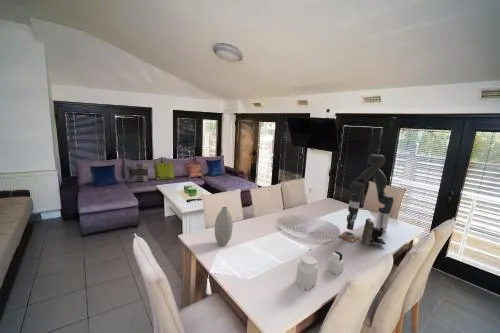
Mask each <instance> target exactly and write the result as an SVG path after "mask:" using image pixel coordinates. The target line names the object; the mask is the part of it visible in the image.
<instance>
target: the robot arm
mask: <svg viewBox="0 0 500 333" xmlns="http://www.w3.org/2000/svg"><path fill="white" fill-rule="evenodd" d="M368 162H369V165H370V167H369V168H366V169H365V170H363V171H362V172H361V174H360V175H359V176H358V177H357V178H355V179H354V180H352V182H351V183H350V184H349V189H350V190H352V191H354V192H353V193H351V194H350V198H349V203H348V208H347V211H348V212H349V213H348V215H346V223H348V225H347V224H346V227H347V226H349V227H350V226H351V221H352V220H353V218H355V221H356V220H357V216H358V214H359V213H358V212H359V208H360V200H361V196H362V194H363V192H364V190H365V185H364V184H366V183H367V182H368V181H369V180H370V178H371V177H372V176H373V179H374V183H375V186H376V193H377V194H376V195H377V201H378V203H379V204H381V205H384V207H383V206H382V207H378V209H377V210H378V211H377V216H376V221H375V224H374V227H375V228H378V229H379V230H380V229H381V227H382V228H383V229H384V230H383V231H381V232H382V233H384V232H385V233H386V232H387V228H388V224H389V219H390V214H391V211H392V208H393V205H394V197H393V196H391V195H387V194H386V193H385V189H386V187H387V186H388V180H387V176H386V175H385V173H384V171H382V170H381V169H380V168H382V167H383V166H384V164H385V162H386V157H385V156H384V155H383V154H370V155H369V156H368ZM355 192H356V193H355ZM351 218H352V219H351Z"/></svg>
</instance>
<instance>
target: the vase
mask: <svg viewBox="0 0 500 333" xmlns="http://www.w3.org/2000/svg"><path fill="white" fill-rule="evenodd" d="M214 222H215V223H214V238H215V240H216V242H217V244H218V245H219V246H220V247H225V246H227V244H228V243H229V242H230V240H231V238H232V235H233V228H234V227H233V217H232V215H231V213H230V211H229V209H228V207H227V206H222V207H221V209H220V211H219V212H218V214H217V215H216V219H215V221H214Z"/></svg>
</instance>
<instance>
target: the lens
mask: <svg viewBox="0 0 500 333" xmlns="http://www.w3.org/2000/svg"><path fill="white" fill-rule="evenodd" d="M351 219H352V218H351ZM355 221H356V220H355V218H353V220H352V221H351V226H350V227H349V226H347V225H348V222H346V223H347V224H346V229H347V230H348V231H354V225H355Z"/></svg>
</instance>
